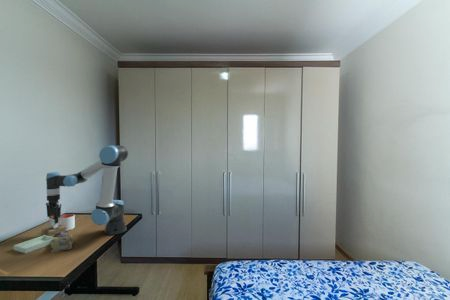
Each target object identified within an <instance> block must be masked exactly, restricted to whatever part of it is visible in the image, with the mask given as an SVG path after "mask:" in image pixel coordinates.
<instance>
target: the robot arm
mask: <svg viewBox="0 0 450 300" xmlns="http://www.w3.org/2000/svg"><path fill="white" fill-rule="evenodd" d="M128 151H129V150H128V149H127V148H126V147H125V146H124V145H120V144H119V145H118V144H117V145H111V144H110V145H105V146H103V147H102V148H101V149H100V150H99V155H98V157H99V160H98V161H96V162H95V163H93V164H90V165H89V166H87V167H86V168H84V169H82V170H81V171H78V172H77V173H73V174H68V175H67V174H66V175H61V173H60V172H57V171H54V172H53V171H52V172H47V173H46V179H45V181H46V201H47V202H45V206H46V215H47V217H48V218H49V227H50V228H51V218H50V216H51V215H54V219H53V228H57V227H58V225H59V218H60V216H62V215H61V214H62V213H61V212H62V209H61V208H62V204H61V203H59V200H60V199H61V194H60V193H61V192H60V191H61V190H60V189H61V187H69V188H70V187H75V186H76V185H77V184H78V185H79V184H83V183H85V182H87V181H88V179H91V178H92V177H94V176H96V175H98V174H99V173H101V172H102V178H101V185H100V192H99V199H98V202H96V204H95V209H93V211H92V212H91V213H90V217H91V218H90V219H91V221H92V222H93V223H94V224H95V225H97V226H104V225H105V228H104V229H103V233H104V234H105V235H107V236H110V235H111V236H113V235H118V234H123V233H125V232H126V231H127V225H126V222H125V212H124V211H125V210H124V209H125V206H124V200H121V199H120V200H119V199H114V196H115V188H116V183H117V174H118V173H117V172H118V168H120V166H121V164H122V162H124V161H125V160H126V159H127V158H128V156H129V152H128Z"/></svg>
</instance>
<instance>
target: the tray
mask: <svg viewBox="0 0 450 300" xmlns="http://www.w3.org/2000/svg"><path fill="white" fill-rule="evenodd" d="M53 239H54V237H50V236H46V235H43V236H42V235H41V236H38V237H35V238H32V239H28V240H25V241H23V242H20V243H16V244H14V245H13V251H14V252H19V253H21V254H25V255H27V254H29V253H33V252H35V251H37V250H40V249H42V248H45V247H48V246H51V243H53Z"/></svg>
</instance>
